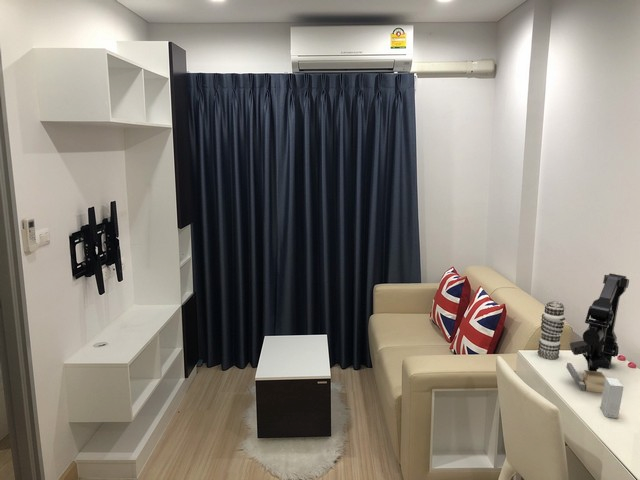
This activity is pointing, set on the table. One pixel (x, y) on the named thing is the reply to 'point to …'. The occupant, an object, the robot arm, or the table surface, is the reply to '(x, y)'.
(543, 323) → the banded tower model
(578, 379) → the chute
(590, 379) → the block
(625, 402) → the table surface
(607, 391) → the skincare box
